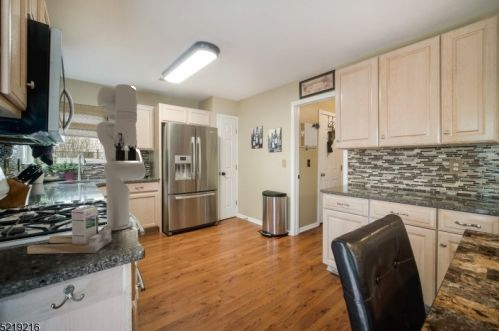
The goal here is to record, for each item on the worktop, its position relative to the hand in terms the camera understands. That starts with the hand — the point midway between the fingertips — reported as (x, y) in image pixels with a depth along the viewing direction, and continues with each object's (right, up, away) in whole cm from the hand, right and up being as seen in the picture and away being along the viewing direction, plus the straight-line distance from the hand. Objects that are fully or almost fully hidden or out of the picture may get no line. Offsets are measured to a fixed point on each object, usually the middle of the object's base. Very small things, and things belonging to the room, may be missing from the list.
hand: (126, 160), depth 90 cm
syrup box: (-12, -33, -5) cm, 35 cm away
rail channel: (-18, -32, -6) cm, 37 cm away
